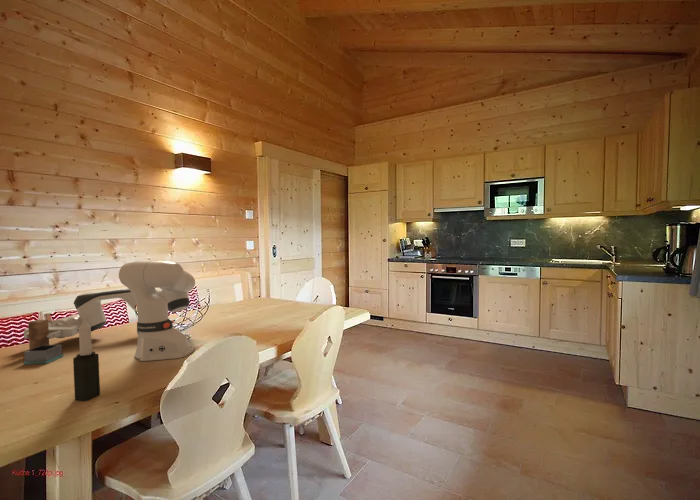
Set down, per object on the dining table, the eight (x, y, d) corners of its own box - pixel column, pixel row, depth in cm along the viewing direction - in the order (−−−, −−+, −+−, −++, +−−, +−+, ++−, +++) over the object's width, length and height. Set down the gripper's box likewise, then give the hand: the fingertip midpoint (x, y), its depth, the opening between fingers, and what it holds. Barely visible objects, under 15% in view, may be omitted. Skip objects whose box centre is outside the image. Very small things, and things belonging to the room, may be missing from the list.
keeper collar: (63, 356, 147) (62, 344, 146) (46, 363, 138) (45, 351, 138) (42, 356, 146) (41, 344, 146) (23, 364, 138) (23, 351, 137)
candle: (86, 401, 106) (83, 318, 105) (72, 400, 107) (69, 318, 106) (101, 393, 111) (98, 314, 110) (88, 392, 112) (85, 314, 111)
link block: (49, 351, 153) (48, 319, 153) (40, 355, 149) (39, 322, 148) (38, 351, 153) (37, 319, 152) (29, 355, 148) (28, 322, 148)
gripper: (85, 334, 164) (62, 343, 150) (40, 335, 163) (13, 344, 149) (85, 320, 164) (62, 328, 150) (39, 321, 163) (12, 329, 149)
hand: (37, 336), depth 150 cm, fingers open, 8 cm apart
